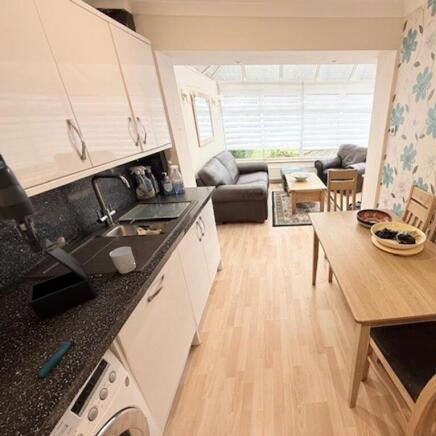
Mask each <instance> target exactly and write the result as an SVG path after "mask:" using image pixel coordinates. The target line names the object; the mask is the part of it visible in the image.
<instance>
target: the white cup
mask: <svg viewBox="0 0 436 436" xmlns="http://www.w3.org/2000/svg"><path fill="white" fill-rule="evenodd" d="M109 257H110V259H111V261H112V262H113V264H114V266H115V268H116V270H117V271H118V273H119V274H128V273H130V272H132V271H134V270H135V269H136V268H137V263H136V260H135V257H134V254H133V251H132V248H131V246H120V247H117V248H115V249H113V250H112V251H110V252H109Z"/></svg>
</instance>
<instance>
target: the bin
mask: <svg viewBox="0 0 436 436" xmlns="http://www.w3.org/2000/svg"><path fill="white" fill-rule="evenodd" d="M85 273H86V276H87V279H86V280H84V279H82V278H81V277H79V276H78V275H76V274H75V273H73V272H72V271H70V270H69V271H67V272H64V273H62V274H59V275H56V276H53V277H50V278H48V279H45V280H42V281H40V282H36V283H34V284H31V285H30V286H29V292H28V305H29V307H30V308H31V309H32V311H33V312H34V314H35V315H36V316H37V318H38V319H39V321H40V322H43V321H45V320H47V319H49V318H51V317H55V316H57V315H59V314H61V313H63V312H65V311H68V310H70V309H73V308H75V307H77V306H79V305H82V304H84V303H86V302H89V301H91V300H93V299H96V294H95V291H94V287H93V284H92V281H91V279H90V277H89V276H88V273H87V272H86V271H85Z"/></svg>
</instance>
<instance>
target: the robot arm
mask: <svg viewBox="0 0 436 436" xmlns="http://www.w3.org/2000/svg"><path fill="white" fill-rule="evenodd" d="M34 213H36V209H35V207H34V205H33V202H32V201H31V199H30V197H29V195H28V193H27V192H26V190H25V189H24V187H22V185H21V184H20V181H19V180H18V178H17V176H16V175H15V172H14V171H13V169H12V168H11V167H10V166H9V165H8V164H7V162H6V160H5V158H4V155H3V154H2V152H1V151H0V219H1V220H2V221H11V220H14V221H13V226H14V229H16V230H17V232H18V234H19V236H20V237H21V238H22V239H23V242H24V243H25V244H27V245H28V246H29V248H30V249H31V252H32V253H33V254H37V253H41V252H44V247H43V246H42V245H41V242H42V240H41V238H40V236H39V235H38V232H37V229H36V224H35V223H34V220H33V218H32V217H29V216H31V215H33V214H34Z"/></svg>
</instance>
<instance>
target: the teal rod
mask: <svg viewBox="0 0 436 436" xmlns="http://www.w3.org/2000/svg"><path fill="white" fill-rule="evenodd" d="M71 347H72V343H71V341H64V342H63V343H62V344H61V345H60V347H59V348H57V350H56V351H55V352H54V354H53V355H52V356H51V357H50V358H49V360H48V361H47V362H46V363H45V364H44V365H43V367H42V368H41V369H40V370H39V371H38V377H39V378H44V377H47V376H48V375H49V374H50V373H51V371H52V370H53V369H54V368H55V367H56V366H57V364H58V363H59V361H60V360H61V359H62V358H63V357H64V356H65V354H66V353H67V352H68V351H69V349H70V348H71Z"/></svg>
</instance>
